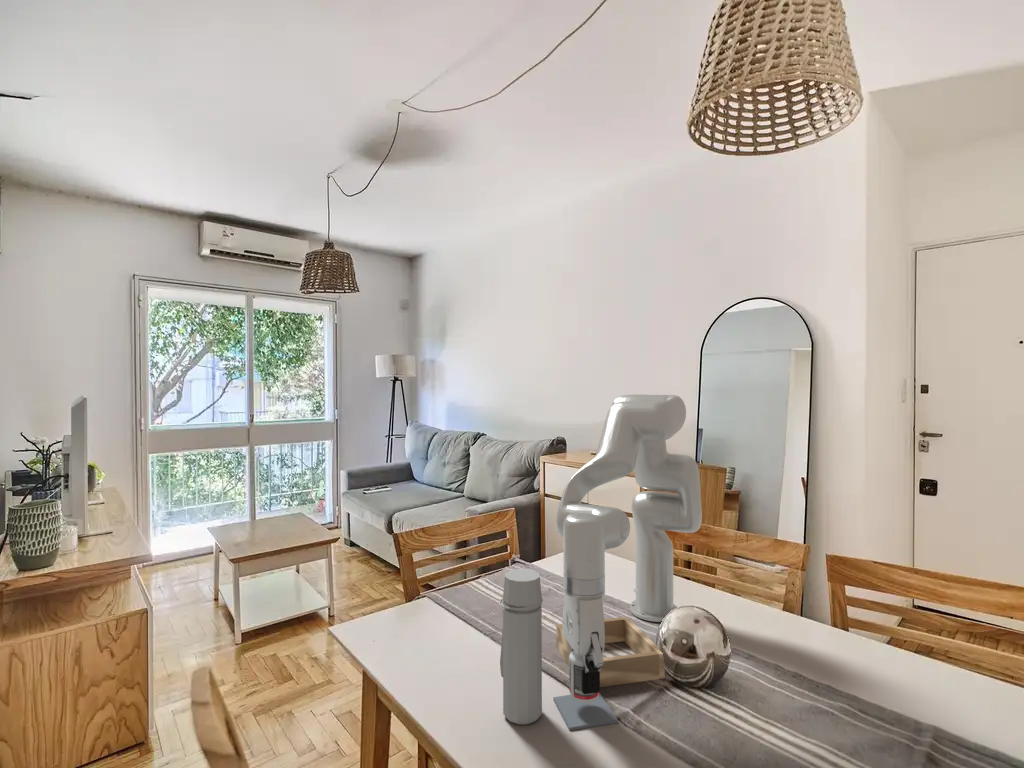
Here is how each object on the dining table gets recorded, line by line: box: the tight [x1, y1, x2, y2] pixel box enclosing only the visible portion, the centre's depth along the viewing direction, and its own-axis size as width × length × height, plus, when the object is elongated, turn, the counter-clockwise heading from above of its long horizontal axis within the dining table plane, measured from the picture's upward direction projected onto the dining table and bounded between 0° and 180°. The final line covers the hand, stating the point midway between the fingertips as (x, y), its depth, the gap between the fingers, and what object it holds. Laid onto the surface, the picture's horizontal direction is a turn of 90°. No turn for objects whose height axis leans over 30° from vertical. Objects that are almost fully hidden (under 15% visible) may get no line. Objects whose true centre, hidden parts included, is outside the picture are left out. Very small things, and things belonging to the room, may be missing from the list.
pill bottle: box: [568, 648, 600, 703], centre depth 94 cm, size 5×5×10 cm
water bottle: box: [498, 568, 544, 725], centre depth 94 cm, size 9×8×25 cm
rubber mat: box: [553, 692, 619, 731], centre depth 94 cm, size 9×9×1 cm
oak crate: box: [555, 616, 666, 688], centre depth 111 cm, size 17×17×5 cm
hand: (584, 681), depth 94 cm, fingers closed on pill bottle, 5 cm apart
